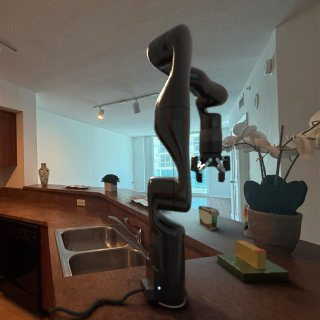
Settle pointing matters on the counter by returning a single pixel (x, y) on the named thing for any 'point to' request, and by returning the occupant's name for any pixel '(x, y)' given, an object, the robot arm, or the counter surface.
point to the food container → (208, 217)
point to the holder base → (252, 270)
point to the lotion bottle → (246, 229)
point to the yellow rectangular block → (251, 254)
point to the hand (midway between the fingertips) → (210, 182)
